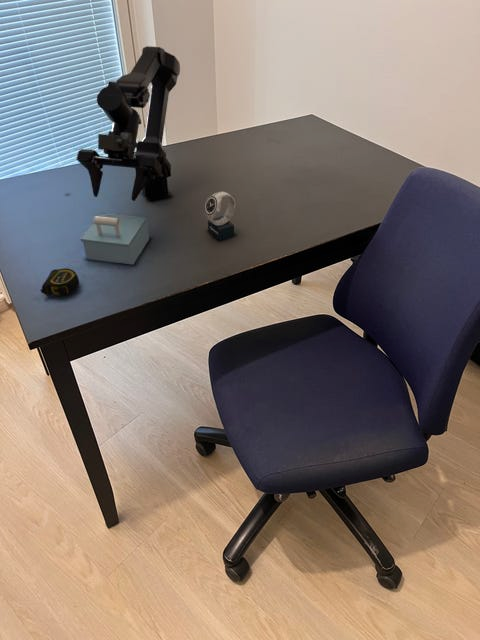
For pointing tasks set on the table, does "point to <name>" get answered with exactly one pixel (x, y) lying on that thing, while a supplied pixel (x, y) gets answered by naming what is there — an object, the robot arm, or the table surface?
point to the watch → (220, 224)
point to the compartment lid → (114, 229)
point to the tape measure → (60, 282)
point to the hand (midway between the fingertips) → (114, 198)
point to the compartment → (118, 249)
